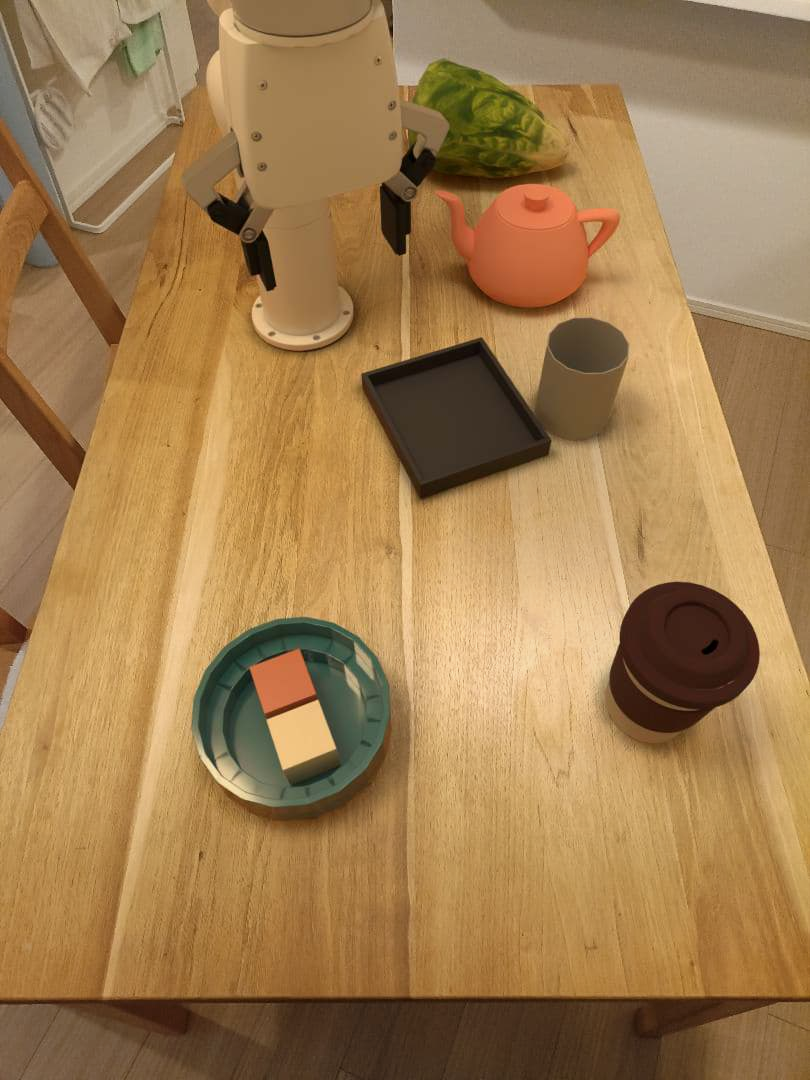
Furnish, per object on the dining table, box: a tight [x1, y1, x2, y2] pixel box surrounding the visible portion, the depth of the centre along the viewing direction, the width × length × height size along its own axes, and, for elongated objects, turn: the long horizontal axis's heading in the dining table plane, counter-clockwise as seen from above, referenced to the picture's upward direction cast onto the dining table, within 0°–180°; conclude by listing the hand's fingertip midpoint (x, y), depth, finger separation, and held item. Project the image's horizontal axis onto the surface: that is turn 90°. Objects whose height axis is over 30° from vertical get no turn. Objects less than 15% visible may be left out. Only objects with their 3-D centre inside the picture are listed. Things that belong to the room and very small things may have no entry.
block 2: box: [267, 700, 341, 785], centre depth 64 cm, size 4×4×4 cm
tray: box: [360, 336, 553, 500], centre depth 85 cm, size 17×15×2 cm
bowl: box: [190, 616, 393, 822], centre depth 65 cm, size 16×16×5 cm
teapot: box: [435, 183, 621, 309], centre depth 94 cm, size 22×15×12 cm
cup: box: [533, 316, 630, 441], centre depth 83 cm, size 8×8×10 cm
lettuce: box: [407, 58, 570, 179], centre depth 108 cm, size 14×23×13 cm, turn 81°
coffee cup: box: [604, 581, 761, 744], centre depth 62 cm, size 10×10×15 cm
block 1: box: [249, 649, 318, 719], centre depth 66 cm, size 4×4×4 cm
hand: (330, 261), depth 55 cm, fingers open, 9 cm apart
